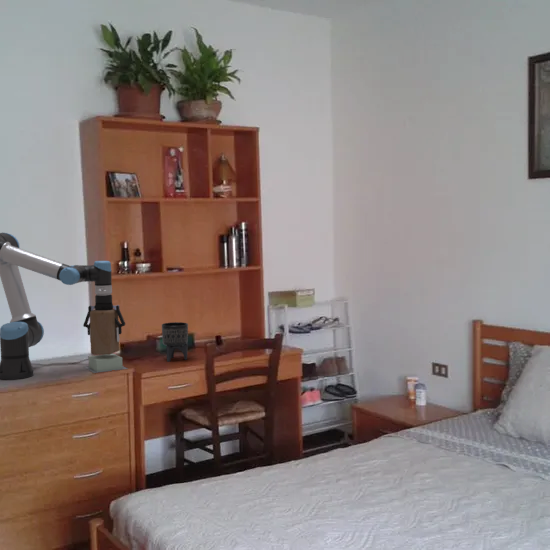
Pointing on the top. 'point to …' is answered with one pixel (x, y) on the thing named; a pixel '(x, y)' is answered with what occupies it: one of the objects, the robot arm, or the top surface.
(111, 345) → the wooden block
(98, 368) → the base brick
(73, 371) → the top surface
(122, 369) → the plate
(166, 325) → the planter
